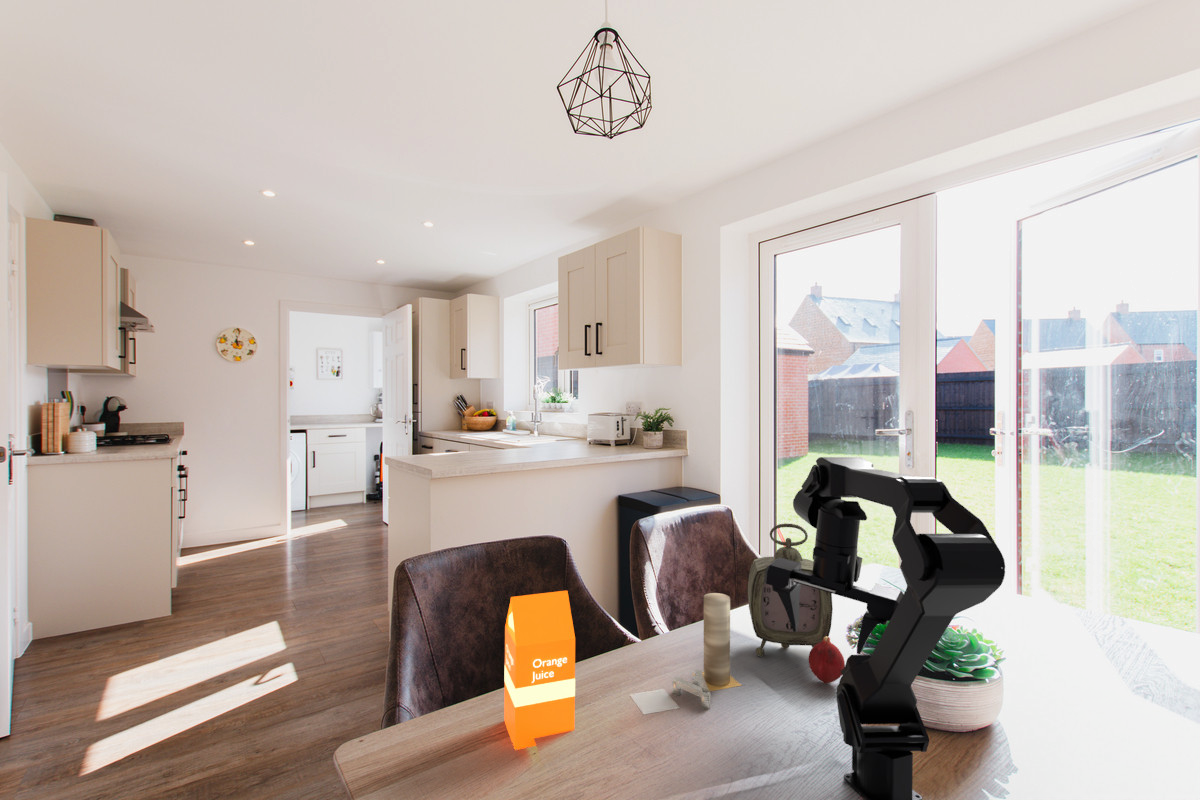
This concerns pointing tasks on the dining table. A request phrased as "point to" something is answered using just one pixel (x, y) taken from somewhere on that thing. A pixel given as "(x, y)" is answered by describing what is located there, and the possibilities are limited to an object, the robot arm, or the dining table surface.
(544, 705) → the orange juice
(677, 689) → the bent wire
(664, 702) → the board
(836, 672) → the onion
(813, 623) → the tabletop clock
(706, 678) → the peg
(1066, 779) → the dining table surface
